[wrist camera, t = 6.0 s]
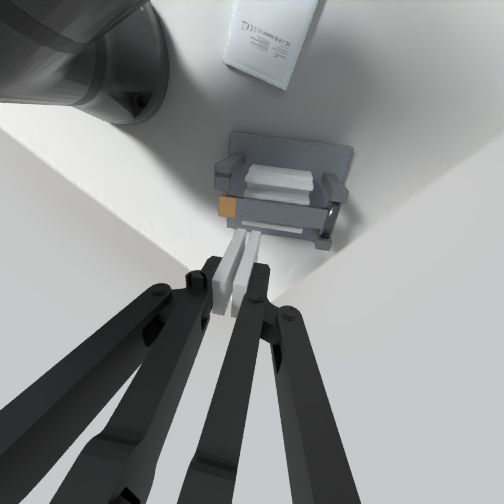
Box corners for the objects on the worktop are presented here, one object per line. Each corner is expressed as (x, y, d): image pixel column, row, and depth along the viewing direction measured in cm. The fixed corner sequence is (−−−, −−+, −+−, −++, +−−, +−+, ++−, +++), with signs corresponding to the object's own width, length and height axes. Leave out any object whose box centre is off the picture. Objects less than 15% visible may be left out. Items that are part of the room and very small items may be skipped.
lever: (220, 219, 27) (217, 223, 26) (221, 184, 25) (218, 187, 23) (329, 234, 26) (331, 239, 25) (340, 199, 24) (343, 203, 23)
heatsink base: (229, 223, 37) (209, 256, 28) (232, 132, 29) (207, 137, 21) (321, 238, 36) (331, 276, 27) (350, 146, 28) (376, 158, 19)
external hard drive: (342, -64, 20) (285, 91, 27) (262, -105, 20) (225, 64, 26) (346, -77, 19) (285, 90, 25) (260, -122, 18) (221, 61, 25)
